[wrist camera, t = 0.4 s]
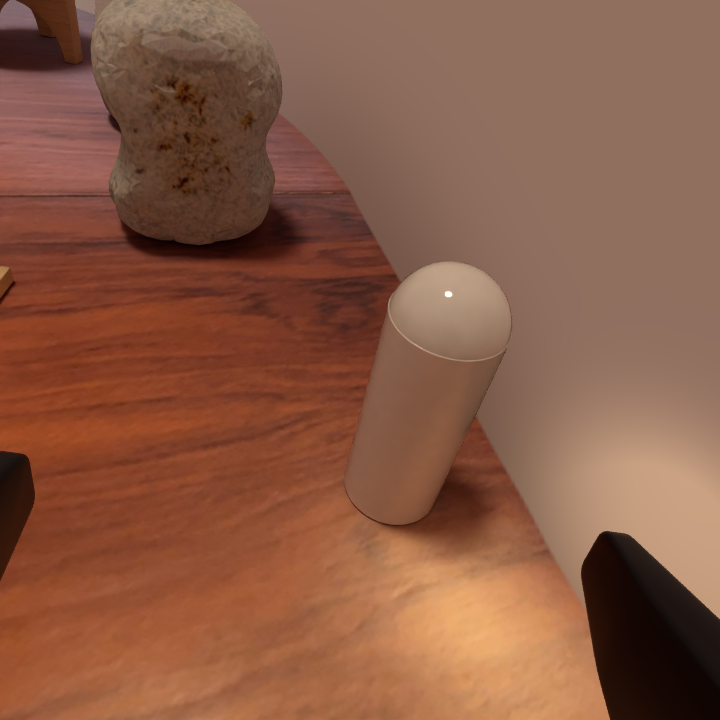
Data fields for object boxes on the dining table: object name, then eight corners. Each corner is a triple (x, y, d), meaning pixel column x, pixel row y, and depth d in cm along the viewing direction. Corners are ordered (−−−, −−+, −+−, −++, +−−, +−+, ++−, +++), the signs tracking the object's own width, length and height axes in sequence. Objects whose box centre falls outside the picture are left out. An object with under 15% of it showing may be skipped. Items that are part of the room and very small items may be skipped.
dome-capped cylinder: (441, 529, 28) (545, 325, 19) (342, 520, 27) (403, 306, 19) (432, 449, 31) (516, 246, 23) (344, 440, 31) (396, 227, 22)
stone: (93, 245, 39) (51, -9, 29) (143, 173, 47) (123, -47, 37) (261, 272, 40) (276, 35, 30) (282, 197, 48) (299, -10, 38)
